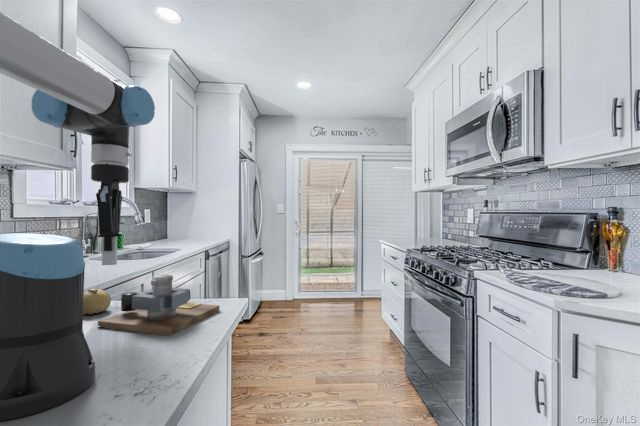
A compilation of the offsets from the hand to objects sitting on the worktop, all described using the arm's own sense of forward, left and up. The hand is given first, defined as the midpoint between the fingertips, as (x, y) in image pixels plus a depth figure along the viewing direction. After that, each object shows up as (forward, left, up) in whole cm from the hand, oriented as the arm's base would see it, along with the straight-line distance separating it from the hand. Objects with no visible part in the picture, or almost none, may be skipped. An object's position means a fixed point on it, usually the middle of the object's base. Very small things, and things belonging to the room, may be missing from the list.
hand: (109, 264), depth 77 cm
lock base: (+10, -7, -15) cm, 19 cm away
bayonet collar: (+7, -6, -13) cm, 15 cm away
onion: (+9, +15, -15) cm, 23 cm away
